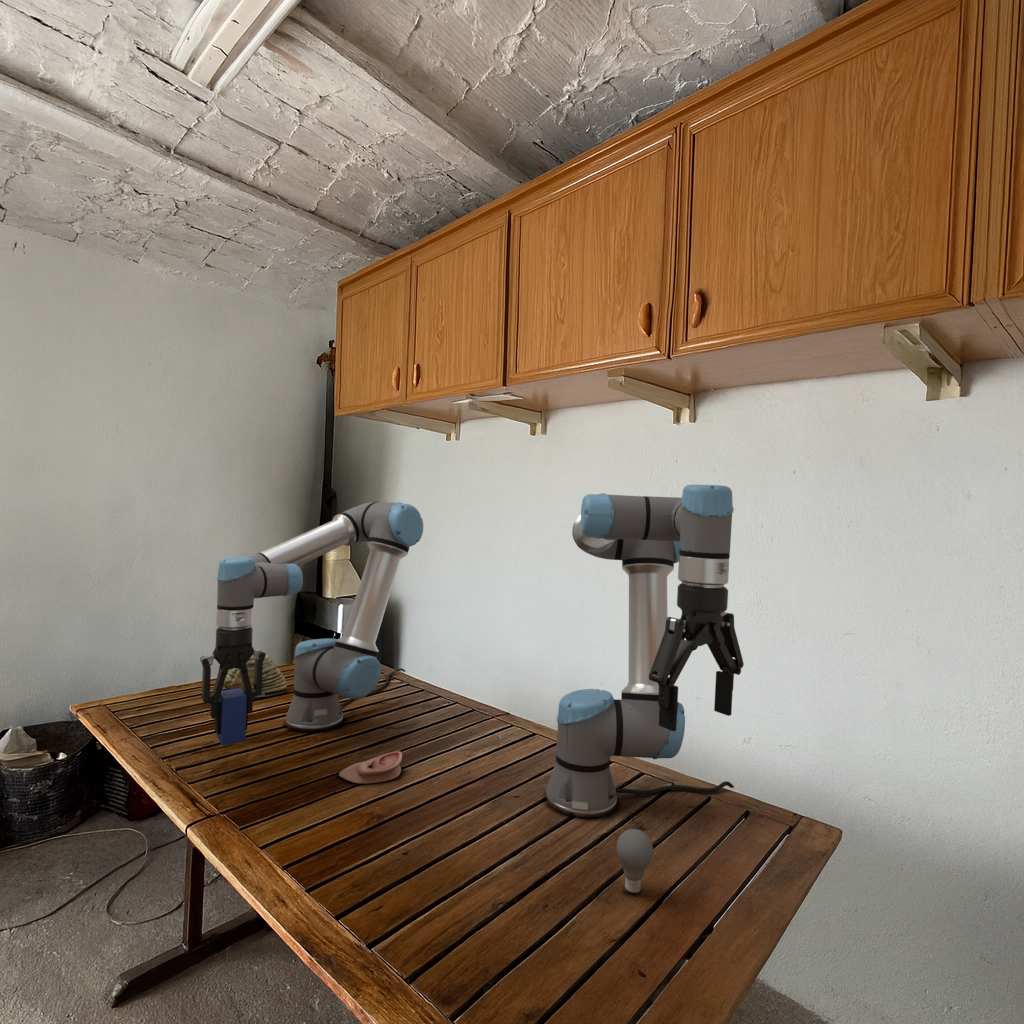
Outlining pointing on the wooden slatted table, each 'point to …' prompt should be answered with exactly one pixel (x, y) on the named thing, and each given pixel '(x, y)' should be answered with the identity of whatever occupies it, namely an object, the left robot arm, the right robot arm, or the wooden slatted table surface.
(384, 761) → the anatomical model
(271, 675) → the fossil
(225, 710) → the brick
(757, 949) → the wooden slatted table surface
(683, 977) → the wooden slatted table surface
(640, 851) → the light bulb
